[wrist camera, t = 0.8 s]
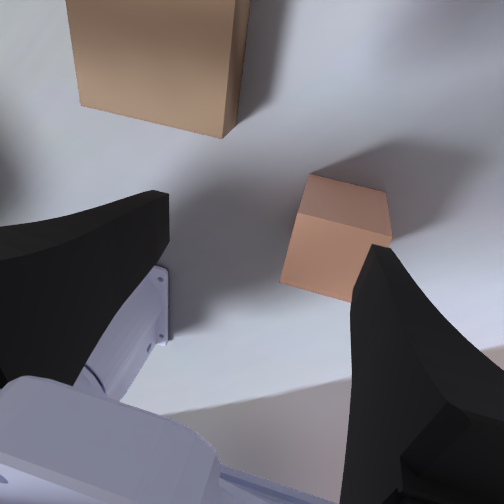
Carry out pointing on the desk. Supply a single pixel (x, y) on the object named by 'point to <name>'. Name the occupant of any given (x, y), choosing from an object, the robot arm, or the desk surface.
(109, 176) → the desk surface
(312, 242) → the terracotta block
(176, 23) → the walnut slab
